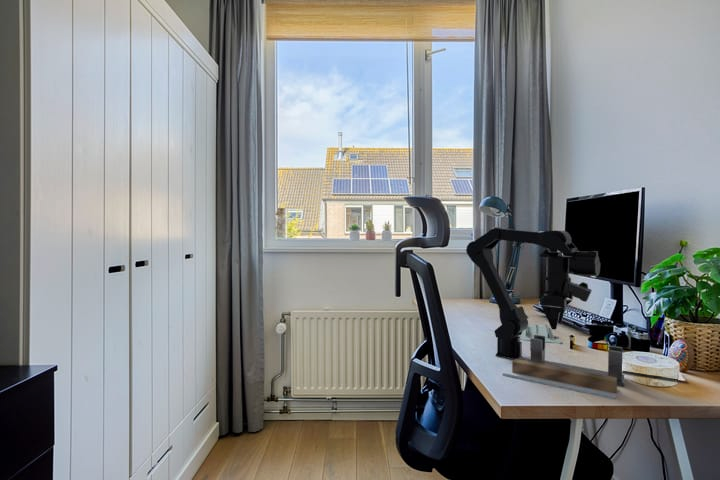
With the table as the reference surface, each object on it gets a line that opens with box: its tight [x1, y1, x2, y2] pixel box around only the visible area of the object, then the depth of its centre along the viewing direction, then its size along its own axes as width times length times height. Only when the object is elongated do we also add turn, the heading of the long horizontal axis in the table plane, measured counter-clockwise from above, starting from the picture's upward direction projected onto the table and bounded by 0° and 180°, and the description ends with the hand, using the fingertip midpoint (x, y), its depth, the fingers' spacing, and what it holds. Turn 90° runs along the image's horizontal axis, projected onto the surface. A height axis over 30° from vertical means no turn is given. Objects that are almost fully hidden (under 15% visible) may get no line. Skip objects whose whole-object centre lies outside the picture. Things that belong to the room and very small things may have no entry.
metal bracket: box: [519, 322, 562, 345], centre depth 144 cm, size 14×6×15 cm
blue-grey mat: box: [502, 365, 617, 400], centre depth 101 cm, size 26×7×1 cm, turn 55°
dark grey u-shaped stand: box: [529, 335, 625, 387], centre depth 107 cm, size 23×7×8 cm, turn 55°
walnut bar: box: [511, 358, 618, 395], centre depth 100 cm, size 24×3×3 cm, turn 55°
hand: (556, 326), depth 112 cm, fingers open, 9 cm apart
